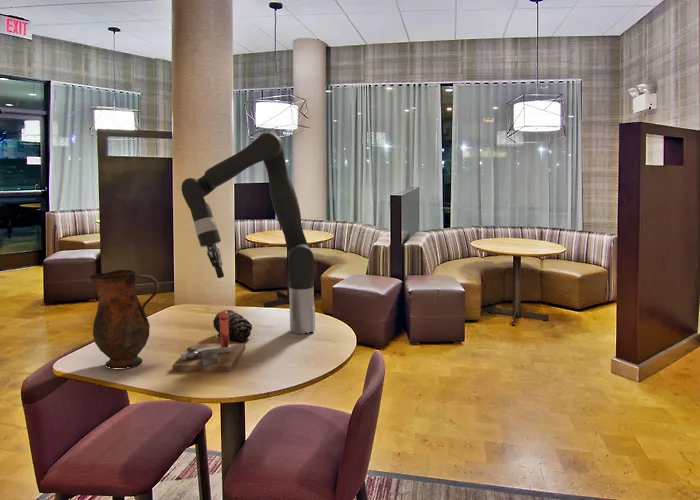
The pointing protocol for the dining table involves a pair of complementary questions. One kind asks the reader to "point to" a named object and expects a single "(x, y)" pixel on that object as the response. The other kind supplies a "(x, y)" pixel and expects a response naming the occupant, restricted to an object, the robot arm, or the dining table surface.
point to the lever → (220, 349)
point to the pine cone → (235, 327)
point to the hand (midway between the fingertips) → (221, 277)
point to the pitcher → (120, 317)
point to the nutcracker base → (222, 360)
